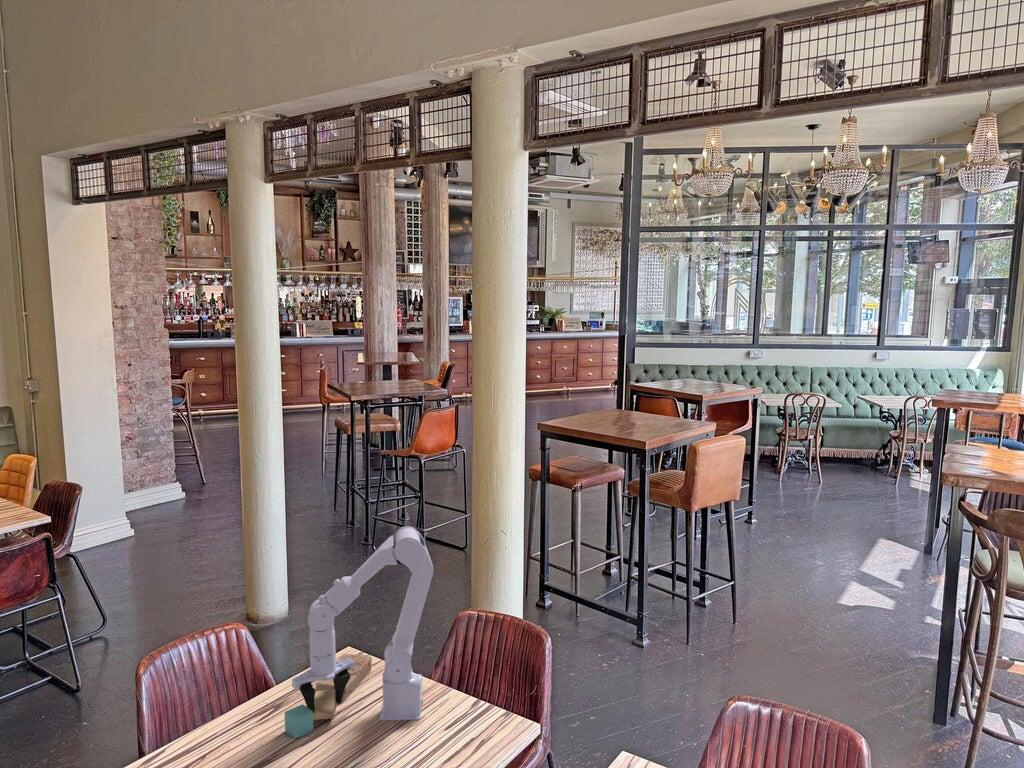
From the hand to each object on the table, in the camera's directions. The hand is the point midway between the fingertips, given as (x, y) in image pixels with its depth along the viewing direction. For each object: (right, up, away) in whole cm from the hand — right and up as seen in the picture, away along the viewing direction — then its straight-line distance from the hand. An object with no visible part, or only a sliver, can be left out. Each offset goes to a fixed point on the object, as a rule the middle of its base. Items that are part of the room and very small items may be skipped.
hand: (324, 707), depth 163 cm
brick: (+1, -2, +16) cm, 16 cm away
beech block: (0, -2, 0) cm, 2 cm away
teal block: (-5, -3, -5) cm, 7 cm away
